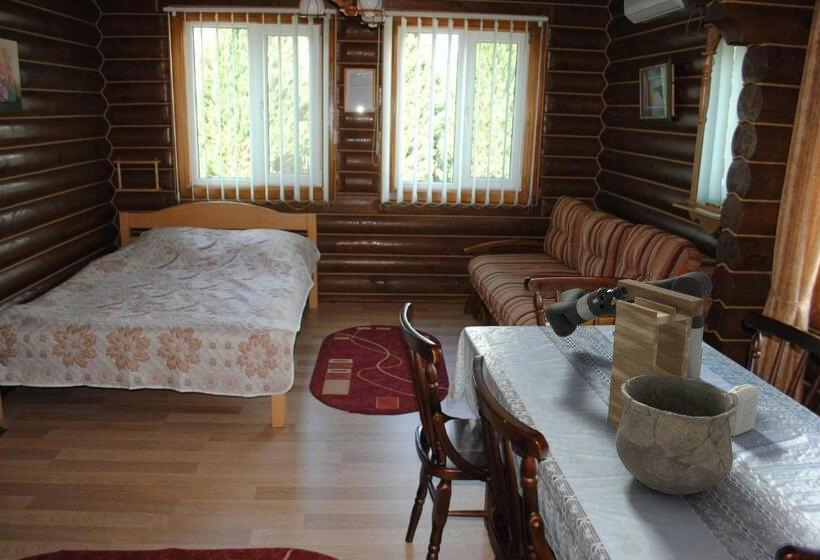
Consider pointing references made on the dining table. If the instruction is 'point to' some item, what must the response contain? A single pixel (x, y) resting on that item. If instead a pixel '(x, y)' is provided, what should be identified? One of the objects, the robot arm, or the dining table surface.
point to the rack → (646, 346)
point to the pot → (675, 433)
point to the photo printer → (744, 408)
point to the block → (664, 297)
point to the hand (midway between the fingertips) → (637, 287)
